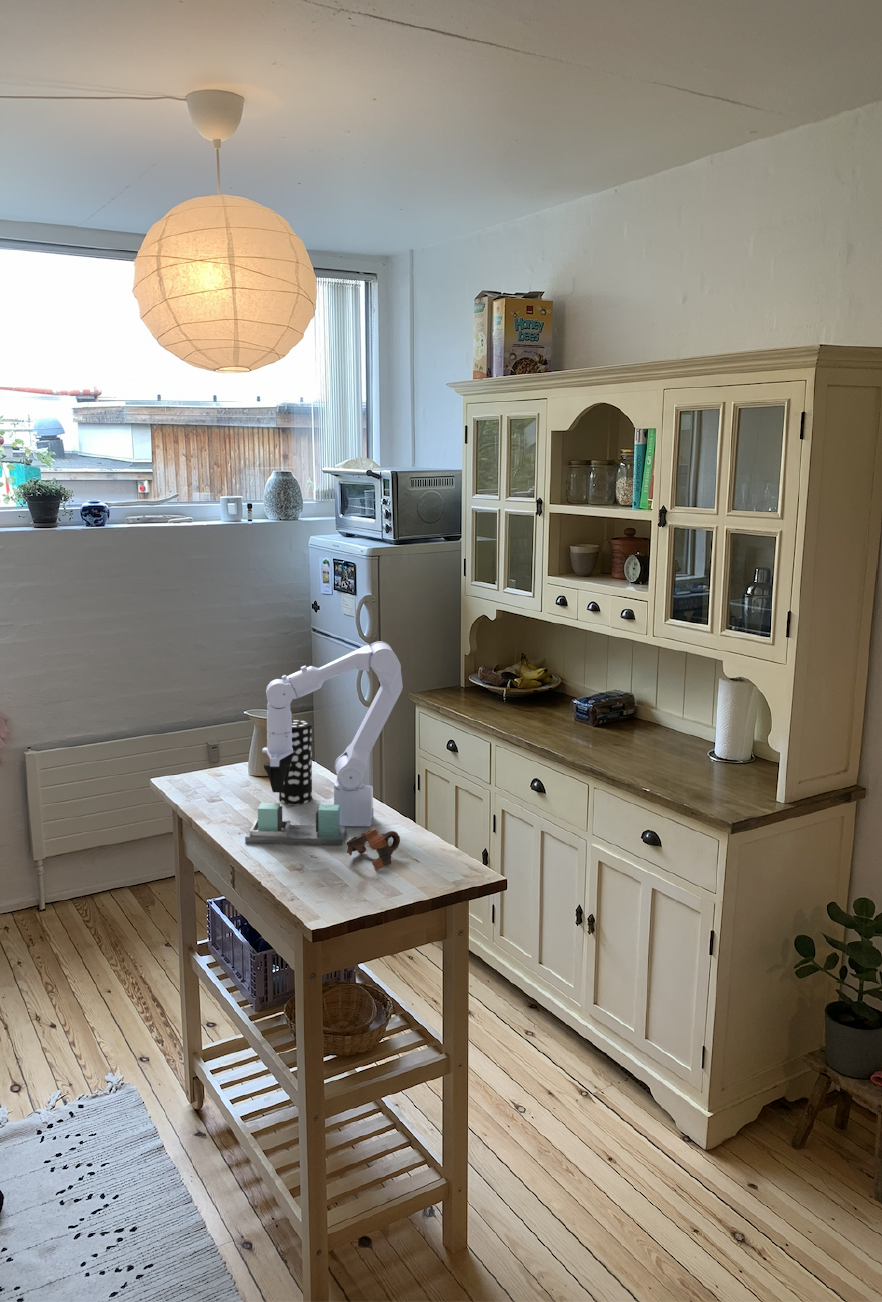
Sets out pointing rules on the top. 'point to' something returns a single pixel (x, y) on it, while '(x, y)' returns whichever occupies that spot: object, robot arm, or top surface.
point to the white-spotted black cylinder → (299, 765)
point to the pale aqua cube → (270, 817)
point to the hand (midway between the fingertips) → (280, 786)
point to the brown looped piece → (375, 846)
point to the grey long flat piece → (304, 830)
